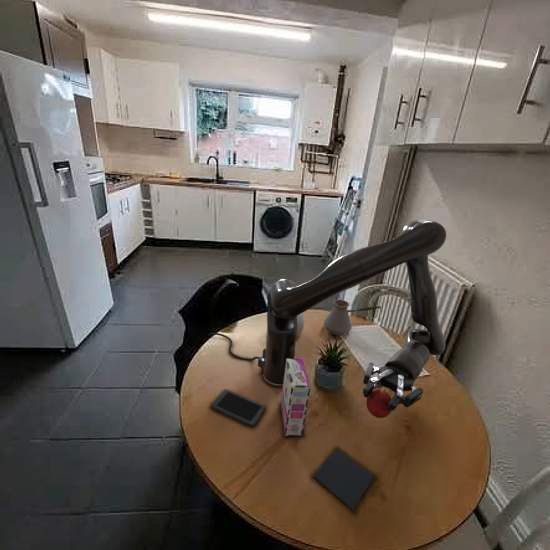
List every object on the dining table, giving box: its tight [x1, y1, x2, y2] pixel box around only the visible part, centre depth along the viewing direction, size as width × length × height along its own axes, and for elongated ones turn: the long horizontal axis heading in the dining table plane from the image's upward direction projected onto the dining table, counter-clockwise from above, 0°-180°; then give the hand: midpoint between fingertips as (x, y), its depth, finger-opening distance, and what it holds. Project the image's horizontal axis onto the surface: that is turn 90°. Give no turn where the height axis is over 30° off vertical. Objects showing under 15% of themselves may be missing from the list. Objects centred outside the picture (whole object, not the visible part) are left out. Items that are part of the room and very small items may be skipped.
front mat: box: [313, 448, 375, 511], centre depth 71 cm, size 10×10×1 cm
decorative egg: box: [297, 312, 306, 337], centre depth 122 cm, size 12×12×15 cm
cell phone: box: [210, 389, 266, 427], centre depth 87 cm, size 7×14×1 cm, turn 64°
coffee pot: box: [323, 299, 382, 336], centre depth 126 cm, size 21×12×15 cm, turn 71°
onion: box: [365, 387, 393, 419], centre depth 72 cm, size 6×6×8 cm
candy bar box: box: [280, 358, 312, 437], centre depth 82 cm, size 11×5×16 cm, turn 5°
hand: (377, 400), depth 69 cm, fingers closed on onion, 5 cm apart
